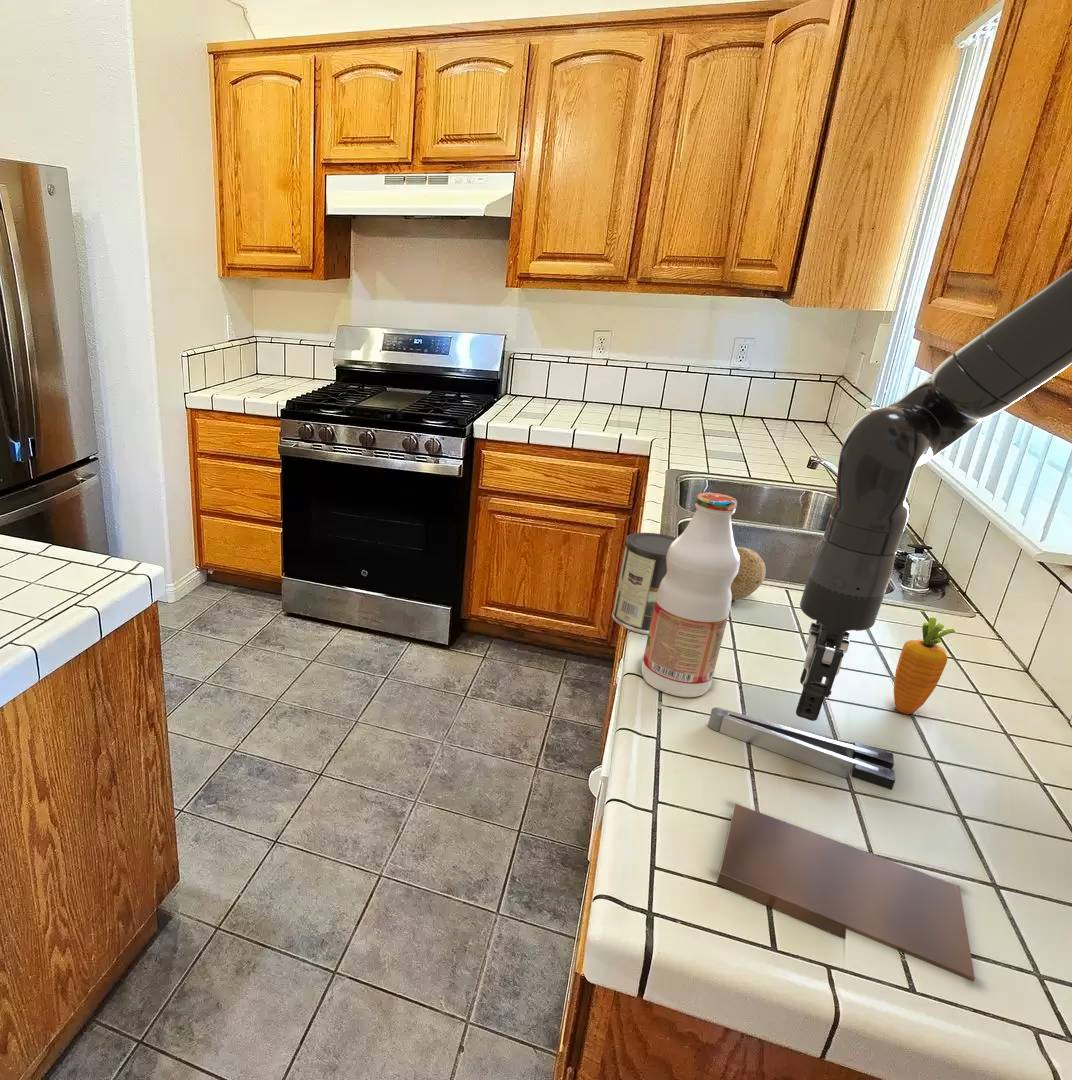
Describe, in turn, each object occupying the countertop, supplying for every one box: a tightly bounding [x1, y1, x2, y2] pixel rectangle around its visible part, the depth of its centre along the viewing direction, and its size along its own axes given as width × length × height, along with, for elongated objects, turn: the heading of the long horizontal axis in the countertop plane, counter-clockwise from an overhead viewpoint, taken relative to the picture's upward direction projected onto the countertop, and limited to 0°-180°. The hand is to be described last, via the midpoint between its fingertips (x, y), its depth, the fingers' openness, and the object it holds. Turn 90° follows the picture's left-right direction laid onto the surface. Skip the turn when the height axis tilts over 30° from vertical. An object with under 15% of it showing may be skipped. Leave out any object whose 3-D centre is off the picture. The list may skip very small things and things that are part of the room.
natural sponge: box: [730, 546, 767, 601], centre depth 135 cm, size 9×9×10 cm
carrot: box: [893, 617, 956, 715], centre depth 100 cm, size 5×5×15 cm
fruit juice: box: [641, 491, 740, 698], centre depth 104 cm, size 9×9×28 cm
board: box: [715, 803, 976, 982], centre depth 73 cm, size 20×12×2 cm, turn 58°
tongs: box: [707, 707, 896, 791], centre depth 94 cm, size 20×6×2 cm, turn 58°
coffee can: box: [611, 532, 677, 635], centre depth 124 cm, size 10×10×14 cm
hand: (807, 700), depth 92 cm, fingers open, 8 cm apart
